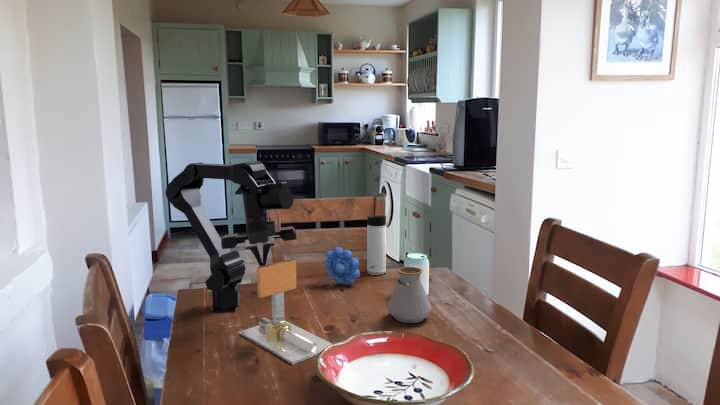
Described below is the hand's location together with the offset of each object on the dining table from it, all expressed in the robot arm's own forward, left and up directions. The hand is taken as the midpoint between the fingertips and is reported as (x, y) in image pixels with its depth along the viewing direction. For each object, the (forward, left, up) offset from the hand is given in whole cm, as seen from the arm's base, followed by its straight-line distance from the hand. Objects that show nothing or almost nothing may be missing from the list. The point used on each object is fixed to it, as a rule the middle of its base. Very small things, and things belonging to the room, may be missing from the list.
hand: (263, 270), depth 137 cm
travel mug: (+32, +37, -13) cm, 51 cm away
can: (+42, +15, -13) cm, 47 cm away
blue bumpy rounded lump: (+20, +25, -13) cm, 35 cm away
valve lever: (+5, -13, -9) cm, 16 cm away
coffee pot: (+36, -7, -13) cm, 39 cm away
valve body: (+7, -15, -13) cm, 21 cm away
